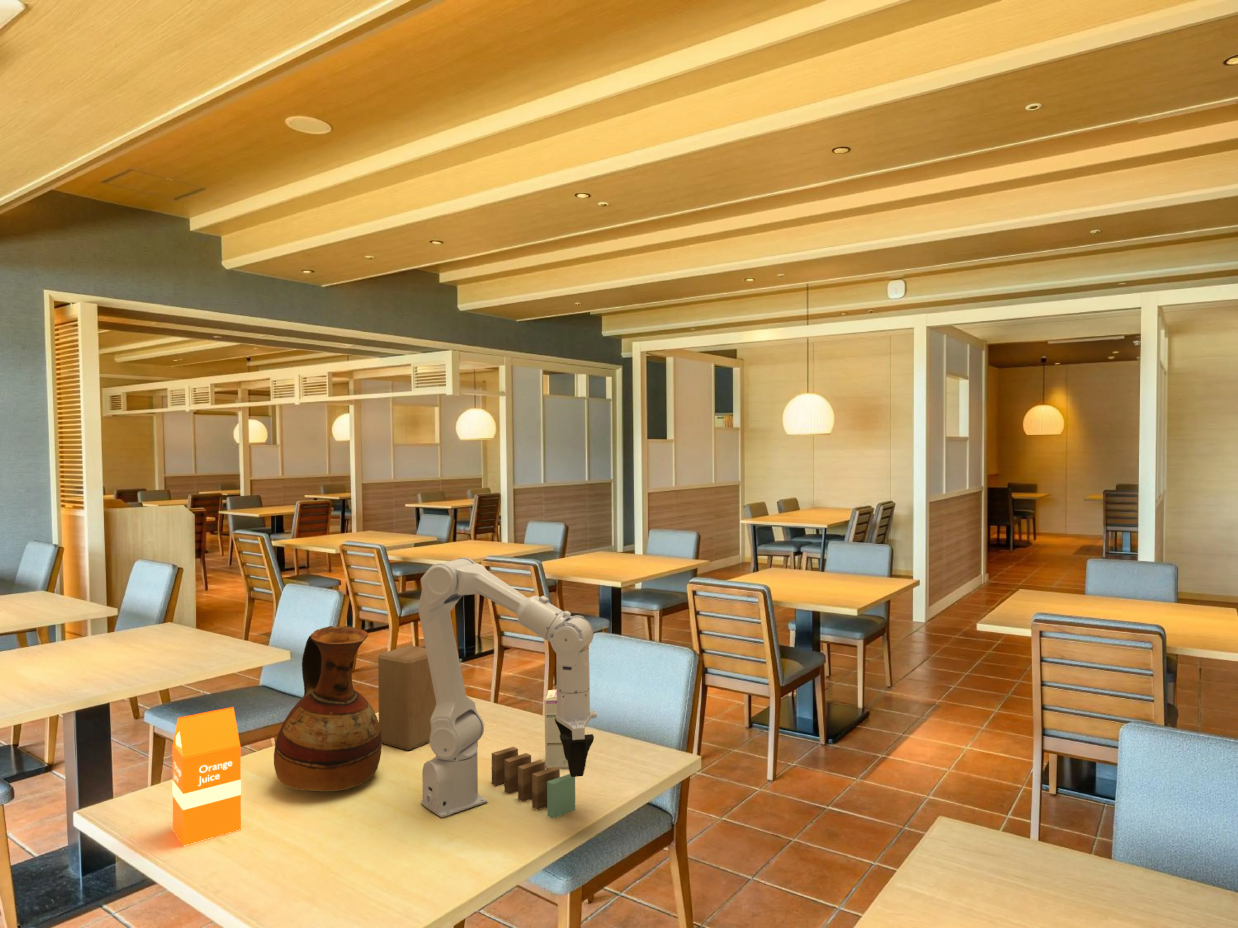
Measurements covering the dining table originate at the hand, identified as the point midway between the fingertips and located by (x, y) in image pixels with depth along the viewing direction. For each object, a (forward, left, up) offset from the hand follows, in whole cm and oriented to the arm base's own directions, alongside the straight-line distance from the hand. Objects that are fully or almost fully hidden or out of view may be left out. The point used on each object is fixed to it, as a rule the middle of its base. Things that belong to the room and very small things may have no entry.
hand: (574, 766), depth 135 cm
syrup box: (+13, +22, -9) cm, 27 cm away
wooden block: (-4, +55, -9) cm, 56 cm away
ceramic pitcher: (-26, +45, -9) cm, 52 cm away
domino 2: (0, +17, -9) cm, 19 cm away
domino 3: (0, +13, -9) cm, 16 cm away
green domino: (0, +4, -9) cm, 10 cm away
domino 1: (0, +22, -9) cm, 23 cm away
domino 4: (0, +8, -9) cm, 12 cm away
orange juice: (-49, +39, -9) cm, 63 cm away
